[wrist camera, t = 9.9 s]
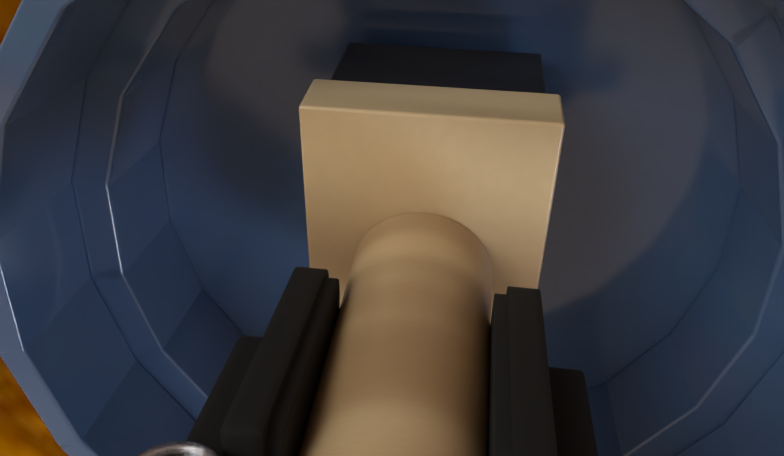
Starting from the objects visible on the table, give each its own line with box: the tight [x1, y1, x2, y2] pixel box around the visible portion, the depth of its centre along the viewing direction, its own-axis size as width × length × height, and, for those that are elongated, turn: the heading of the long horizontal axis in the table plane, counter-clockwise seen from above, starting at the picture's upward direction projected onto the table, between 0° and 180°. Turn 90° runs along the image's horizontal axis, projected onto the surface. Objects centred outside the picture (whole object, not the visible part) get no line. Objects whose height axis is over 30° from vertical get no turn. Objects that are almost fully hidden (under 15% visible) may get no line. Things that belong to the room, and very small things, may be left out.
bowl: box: [0, 0, 784, 456], centre depth 15 cm, size 16×16×6 cm
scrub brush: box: [298, 43, 565, 456], centre depth 11 cm, size 6×4×13 cm
